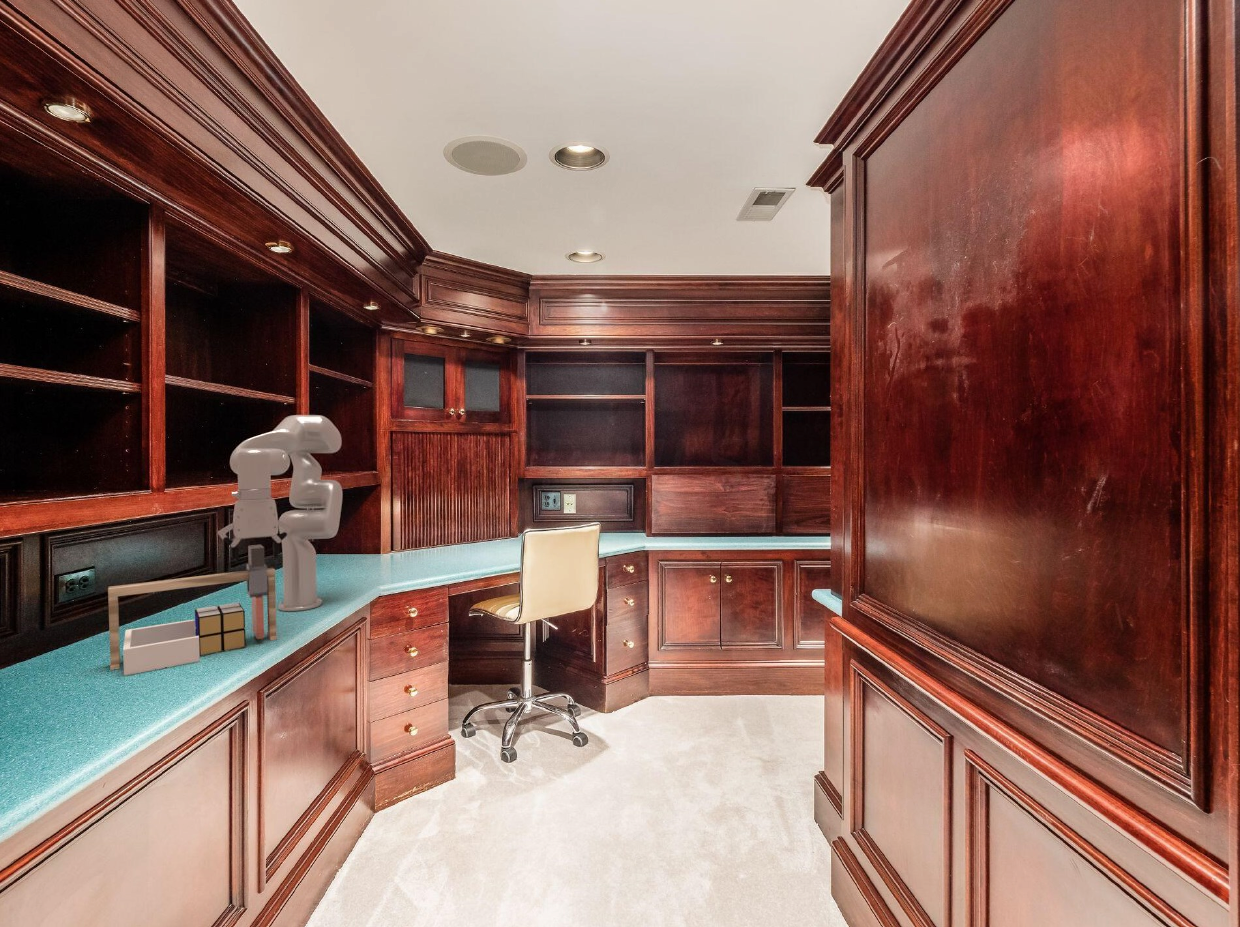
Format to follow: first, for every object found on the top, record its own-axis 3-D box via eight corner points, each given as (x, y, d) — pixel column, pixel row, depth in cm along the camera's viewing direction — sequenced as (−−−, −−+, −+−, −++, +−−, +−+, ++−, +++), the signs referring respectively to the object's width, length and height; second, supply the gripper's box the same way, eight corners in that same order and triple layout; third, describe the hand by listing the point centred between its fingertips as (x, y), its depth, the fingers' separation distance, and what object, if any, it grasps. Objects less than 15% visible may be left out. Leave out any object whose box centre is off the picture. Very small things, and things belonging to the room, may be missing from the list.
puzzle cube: (195, 646, 155) (194, 608, 154) (240, 637, 161) (239, 601, 161) (199, 656, 147) (197, 617, 147) (245, 647, 153) (245, 609, 153)
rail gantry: (111, 662, 143) (109, 585, 142) (273, 633, 164) (272, 566, 163) (110, 670, 138) (107, 590, 137) (277, 639, 159) (275, 570, 159)
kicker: (247, 631, 161) (245, 545, 161) (264, 628, 164) (262, 543, 163) (251, 640, 154) (249, 549, 154) (269, 636, 157) (267, 548, 156)
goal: (126, 653, 149) (125, 629, 149) (195, 641, 158) (194, 619, 158) (124, 675, 135) (123, 649, 135) (199, 661, 144) (199, 636, 143)
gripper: (217, 498, 149) (218, 565, 150) (293, 494, 160) (295, 557, 161) (214, 496, 155) (216, 561, 156) (288, 492, 166) (290, 553, 167)
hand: (256, 558), depth 158 cm, fingers open, 8 cm apart
